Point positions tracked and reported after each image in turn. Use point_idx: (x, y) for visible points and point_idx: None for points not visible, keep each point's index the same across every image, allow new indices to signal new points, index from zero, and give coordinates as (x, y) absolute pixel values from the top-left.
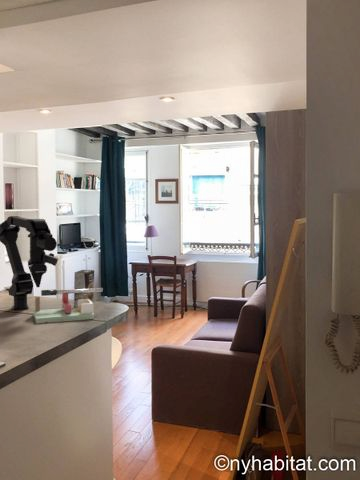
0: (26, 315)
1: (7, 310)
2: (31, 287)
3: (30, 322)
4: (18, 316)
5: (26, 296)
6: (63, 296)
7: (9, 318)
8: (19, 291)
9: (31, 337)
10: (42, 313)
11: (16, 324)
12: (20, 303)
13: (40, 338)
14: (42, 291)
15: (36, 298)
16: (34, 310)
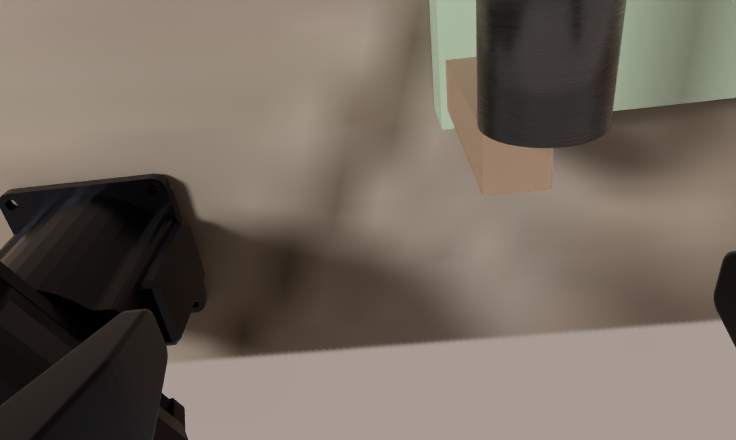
0: (431, 178)
1: (209, 340)
2: (13, 315)
3: (726, 129)
4: (451, 245)
5: (67, 277)
6: None
7: (501, 305)
8: (176, 420)
9: None
10: (640, 14)
11: (730, 242)
12: (185, 288)
13: None
14: (609, 116)
15: (547, 169)
16: (449, 119)
